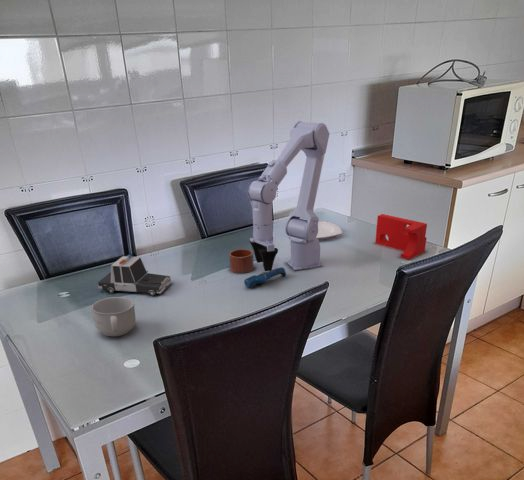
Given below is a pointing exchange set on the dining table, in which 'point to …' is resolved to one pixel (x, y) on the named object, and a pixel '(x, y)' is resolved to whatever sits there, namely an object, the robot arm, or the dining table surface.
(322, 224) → the plate
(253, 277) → the figurine
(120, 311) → the teacup
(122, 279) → the toy car
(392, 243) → the bracket
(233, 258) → the cup
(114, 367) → the dining table surface
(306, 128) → the robot arm
